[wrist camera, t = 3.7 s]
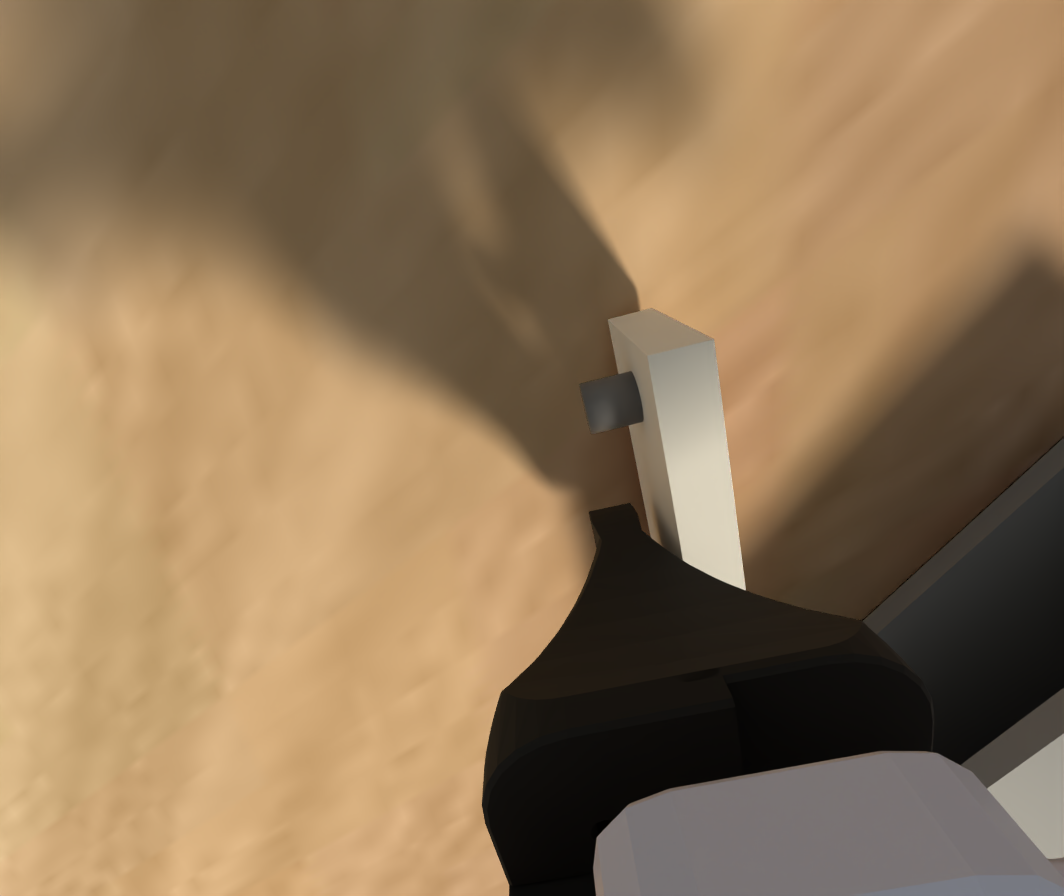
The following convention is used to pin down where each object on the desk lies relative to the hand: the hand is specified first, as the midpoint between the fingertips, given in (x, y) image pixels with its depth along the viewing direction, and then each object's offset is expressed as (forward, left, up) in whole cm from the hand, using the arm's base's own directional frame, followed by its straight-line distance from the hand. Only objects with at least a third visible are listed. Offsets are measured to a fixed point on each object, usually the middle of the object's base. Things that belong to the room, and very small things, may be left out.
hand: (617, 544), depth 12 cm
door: (+1, +2, -1) cm, 3 cm away
